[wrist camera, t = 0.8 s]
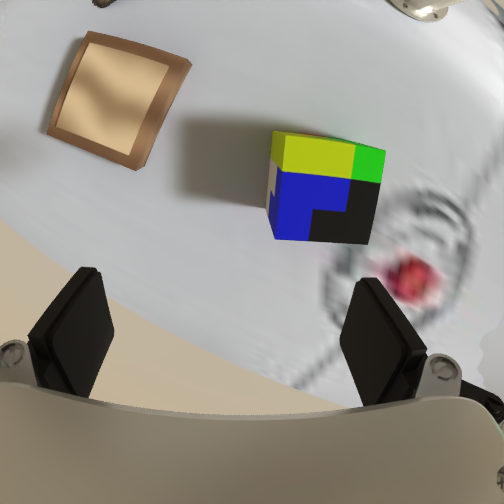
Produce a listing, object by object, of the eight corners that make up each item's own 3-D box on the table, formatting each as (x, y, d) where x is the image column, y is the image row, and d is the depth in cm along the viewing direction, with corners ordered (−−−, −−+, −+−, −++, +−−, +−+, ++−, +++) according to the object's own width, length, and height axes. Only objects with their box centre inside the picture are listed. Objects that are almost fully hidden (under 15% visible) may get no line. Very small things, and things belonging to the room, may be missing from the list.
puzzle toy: (265, 208, 38) (274, 239, 29) (272, 130, 33) (285, 135, 24) (338, 214, 38) (367, 244, 29) (349, 140, 34) (385, 150, 25)
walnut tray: (99, 36, 26) (86, 29, 22) (192, 64, 29) (186, 58, 25) (60, 131, 31) (44, 134, 27) (144, 166, 34) (134, 172, 30)
